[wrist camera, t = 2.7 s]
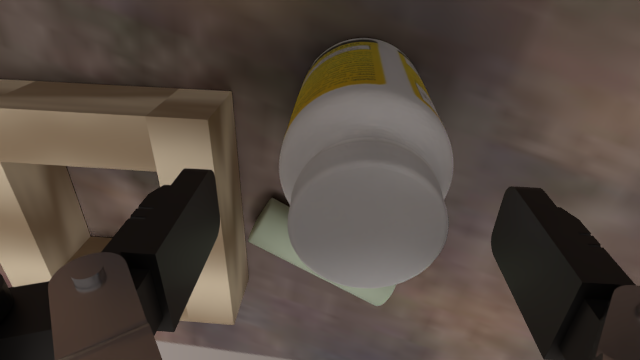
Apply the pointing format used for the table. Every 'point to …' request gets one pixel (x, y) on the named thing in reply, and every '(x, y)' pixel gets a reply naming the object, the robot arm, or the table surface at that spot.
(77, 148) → the socket block
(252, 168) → the table surface
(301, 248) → the supplement bottle
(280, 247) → the lying dowel
